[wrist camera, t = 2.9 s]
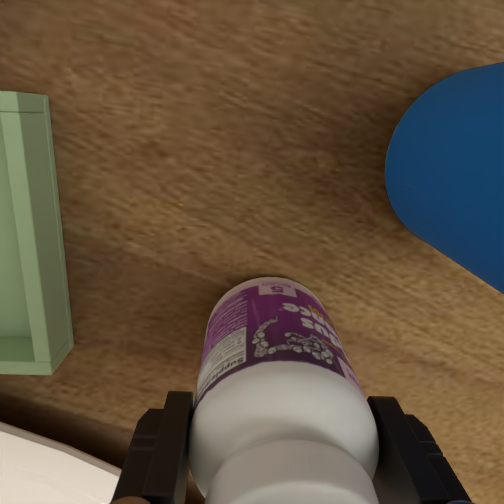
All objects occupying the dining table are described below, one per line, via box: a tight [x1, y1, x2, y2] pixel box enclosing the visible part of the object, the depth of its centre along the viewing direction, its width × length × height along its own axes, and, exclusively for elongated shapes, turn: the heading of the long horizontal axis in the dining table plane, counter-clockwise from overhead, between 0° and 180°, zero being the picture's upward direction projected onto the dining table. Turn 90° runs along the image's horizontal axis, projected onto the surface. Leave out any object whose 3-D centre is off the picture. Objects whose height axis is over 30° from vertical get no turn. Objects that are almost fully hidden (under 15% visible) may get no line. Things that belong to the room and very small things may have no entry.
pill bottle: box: [188, 277, 379, 504], centre depth 13 cm, size 5×5×10 cm
